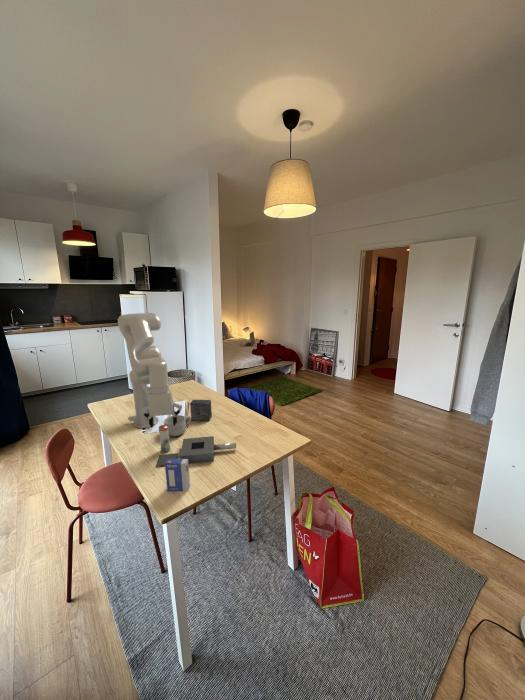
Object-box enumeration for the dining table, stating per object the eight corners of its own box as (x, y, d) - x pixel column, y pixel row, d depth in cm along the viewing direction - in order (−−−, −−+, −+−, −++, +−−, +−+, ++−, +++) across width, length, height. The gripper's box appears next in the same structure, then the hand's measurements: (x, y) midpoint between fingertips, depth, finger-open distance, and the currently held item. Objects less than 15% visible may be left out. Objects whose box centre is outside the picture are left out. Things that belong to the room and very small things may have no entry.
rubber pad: (155, 467, 120) (155, 465, 120) (159, 456, 128) (159, 454, 128) (175, 465, 121) (175, 463, 121) (178, 454, 129) (177, 453, 129)
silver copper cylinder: (160, 453, 130) (157, 429, 127) (161, 448, 134) (159, 425, 131) (169, 452, 130) (167, 428, 128) (170, 447, 134) (168, 424, 132)
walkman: (167, 491, 106) (164, 462, 103) (169, 486, 109) (167, 457, 106) (188, 491, 106) (186, 462, 103) (190, 486, 109) (188, 458, 106)
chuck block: (180, 464, 122) (179, 456, 121) (184, 446, 135) (183, 438, 134) (237, 458, 125) (237, 450, 125) (235, 441, 139) (234, 434, 138)
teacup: (166, 440, 140) (165, 425, 138) (163, 431, 150) (161, 416, 148) (194, 434, 146) (193, 419, 145) (189, 425, 156) (188, 411, 154)
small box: (212, 416, 166) (211, 399, 163) (209, 421, 160) (208, 404, 157) (194, 415, 167) (193, 398, 164) (190, 420, 161) (189, 403, 158)
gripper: (136, 393, 120) (141, 431, 124) (179, 390, 123) (182, 427, 126) (141, 387, 127) (145, 423, 131) (181, 384, 130) (184, 419, 133)
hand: (163, 425), depth 129 cm, fingers open, 9 cm apart
